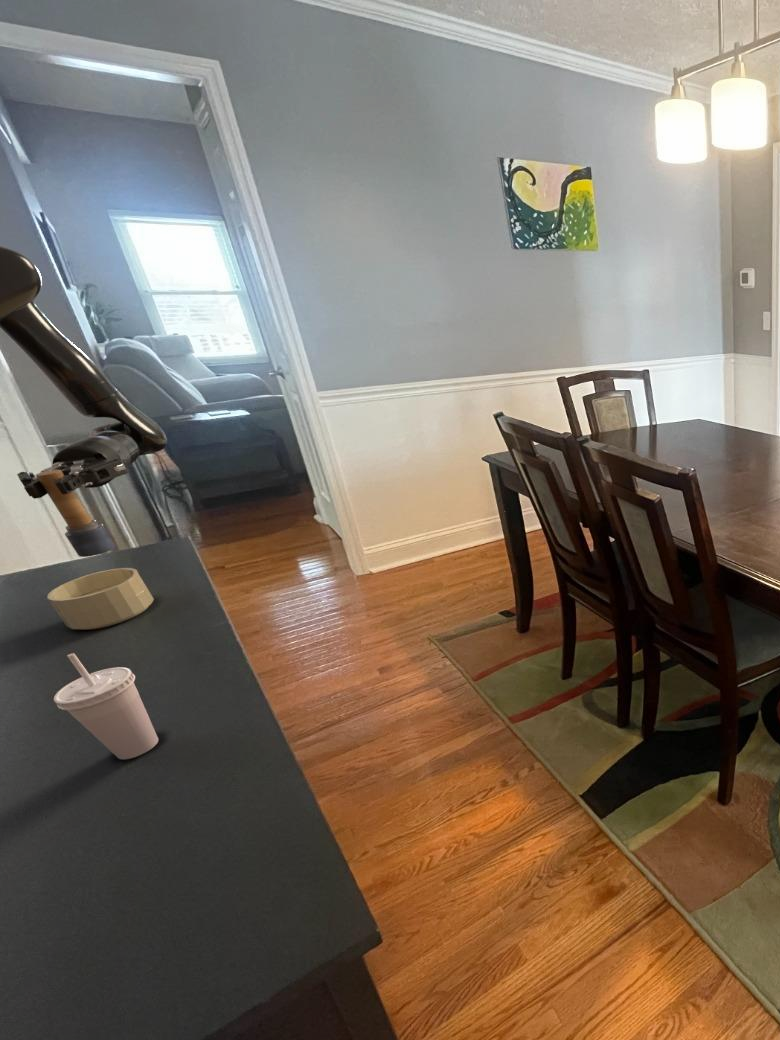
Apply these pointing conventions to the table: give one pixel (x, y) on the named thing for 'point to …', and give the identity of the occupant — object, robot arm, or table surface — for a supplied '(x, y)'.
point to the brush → (76, 519)
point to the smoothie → (109, 709)
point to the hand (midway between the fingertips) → (47, 490)
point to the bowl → (101, 599)
